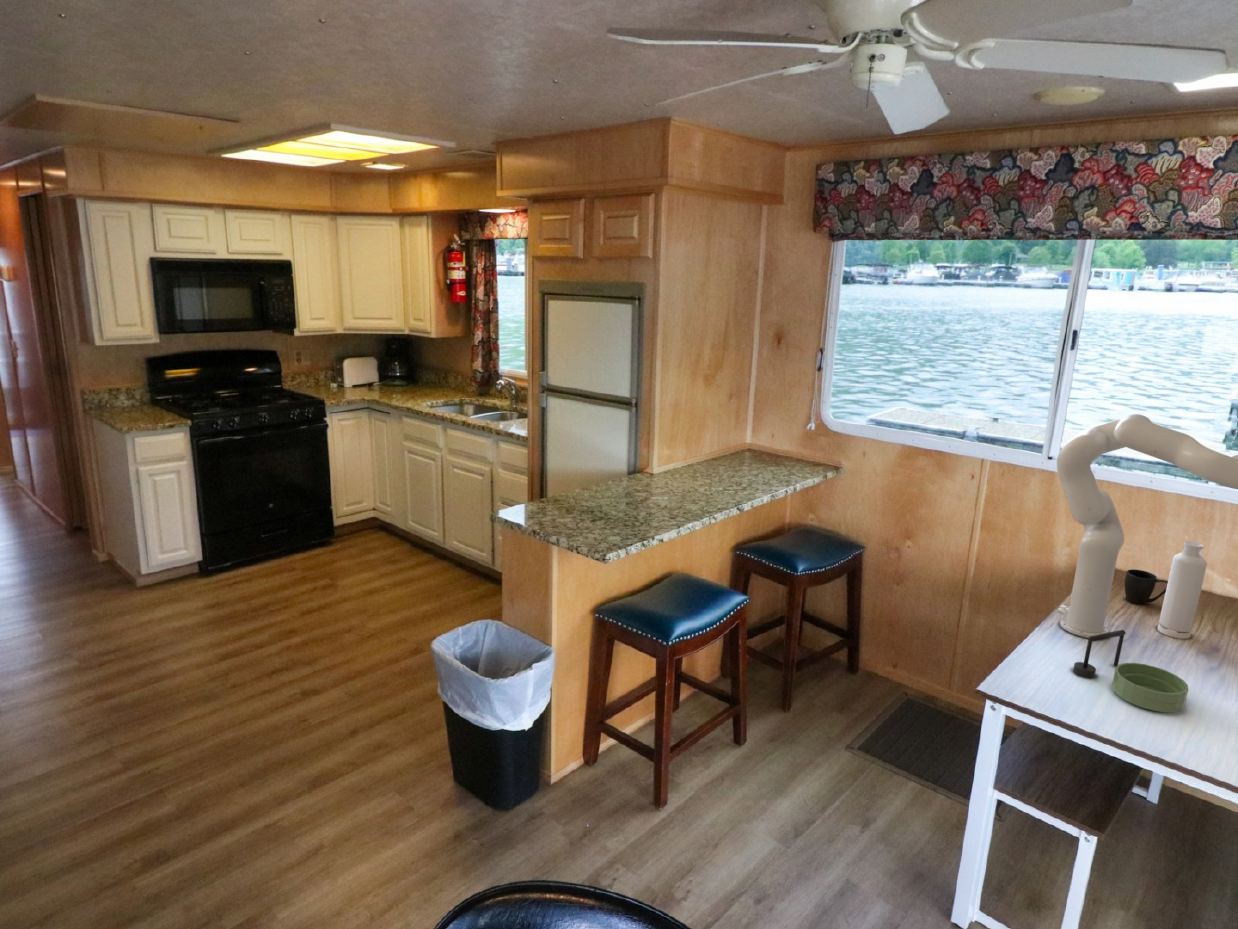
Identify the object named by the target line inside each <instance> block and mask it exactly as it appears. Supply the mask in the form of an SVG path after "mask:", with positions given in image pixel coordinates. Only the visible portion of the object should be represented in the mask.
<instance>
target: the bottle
mask: <svg viewBox="0 0 1238 929" xmlns="http://www.w3.org/2000/svg"><path fill="white" fill-rule="evenodd" d="M1204 547H1205V545H1204V544H1202V543H1200V542H1197V541H1190V540H1185V541H1183V550H1182V551H1181V552H1178V553H1176V554H1175V555H1174V556H1173V557H1172V562H1171V566H1170V571H1169V575H1168V580H1167V581H1168V584H1167V583H1166V587H1167V588H1166V587H1165V589H1166V592H1165V593H1164V598H1163V602H1162V606H1161V611H1160V616H1159V622H1158V625H1157V631H1158V632H1159V633H1161V634H1163V635H1165V636H1168V637H1171V638H1175V639H1182V640H1183V639H1189V638H1191V635H1192V629H1193V627H1194V626H1193V625H1194V622H1195V617H1196V613H1197V608H1198V605H1199V600H1200V596H1201V592H1202V588H1203V584H1204V579H1205V575H1206V570H1207V567H1208V562H1207V561H1206V559H1205V558H1204V557H1202V556H1203V555H1202V550H1203V549H1204Z"/></svg>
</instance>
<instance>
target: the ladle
mask: <svg viewBox="0 0 1238 929" xmlns="http://www.w3.org/2000/svg"><path fill="white" fill-rule="evenodd" d="M1125 635H1126V631H1125V630H1124V629H1120V630H1115V631H1109V633H1104V634H1099V635H1094V636H1089V637H1088V638H1087V644H1086V647H1085V648H1086V649H1085V654H1084V658H1083V661H1077V662H1074V664H1073V668H1072V672H1073V674H1075V675H1076V676H1078V677H1081V678H1085V679H1093V678H1095V677H1096V672H1097V669H1096V667H1095V666H1094V665H1092V664H1090V663H1089V660H1090V655H1091V652H1092V646H1093V642H1098V641H1102V640H1107V639H1112V638H1117V637H1118V640H1117V646H1116V651H1115V655H1114V660H1113V667H1114V668H1116V666H1118V665H1119V661H1120V658H1121V652H1122V647H1123V643H1124V638H1125Z"/></svg>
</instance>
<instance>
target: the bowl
mask: <svg viewBox="0 0 1238 929" xmlns="http://www.w3.org/2000/svg"><path fill="white" fill-rule="evenodd" d="M1114 668H1115V669H1114V673H1113V677H1112V681H1111V682H1112V683H1111V689H1112V691H1113V692H1114V693H1115V694H1116V695H1117V696H1118V697H1120V698H1121V699H1123V700H1125V701H1126V702H1128V703H1130V704H1132V705H1135V706H1137V707H1140V708H1143V709H1146V710H1151V711H1153V712H1160V713H1177V712H1180V711H1182V710H1183V709H1184V708H1185V706H1186V701H1187V698H1188V693H1189V685H1188V684H1187V682H1186V681H1185V680H1184V679H1183V678H1181V677H1180V676H1178V675H1176V674H1175V673H1173V672H1171V671H1169V670H1167V669H1163V668H1160V667H1158V666H1154V665H1151V664H1146V663H1139V662H1123V663H1118V666H1116V667H1114Z"/></svg>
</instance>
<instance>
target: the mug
mask: <svg viewBox="0 0 1238 929" xmlns="http://www.w3.org/2000/svg"><path fill="white" fill-rule="evenodd" d="M1156 583H1166V585H1167V584H1168V580H1165V579H1158V578H1157V576H1156V574H1154V573H1151V572H1149V571H1146V570H1142V569H1136V568H1135V569H1134V568H1133V569H1127V571H1126V573H1125V578H1124V593H1125V594H1124V595H1125V600H1126V601H1127V602H1129V603H1130V604H1133V605H1139V606H1144V605H1146V604H1147V603H1148V604H1151V603H1154V602H1155V601H1156V600H1158V599H1159V598H1161V597H1162V596H1164V595H1165V593H1166V588H1167V586H1166V587H1165V588H1164V589H1163V590H1162V591H1161V592H1160V593H1159V594H1157V595H1156V596H1154V597H1151V596H1152V595H1153V592H1154V590H1155V587H1156Z"/></svg>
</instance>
